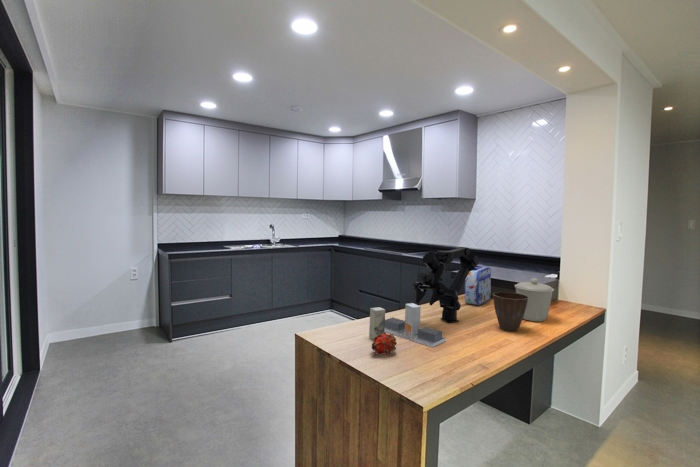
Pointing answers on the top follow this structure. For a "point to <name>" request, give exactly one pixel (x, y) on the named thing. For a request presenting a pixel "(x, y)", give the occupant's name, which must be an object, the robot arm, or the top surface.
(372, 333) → the box
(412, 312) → the skincare box
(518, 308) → the plant pot
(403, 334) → the rail plate
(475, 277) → the lunch box
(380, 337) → the dragon fruit
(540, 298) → the canister
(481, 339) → the top surface
